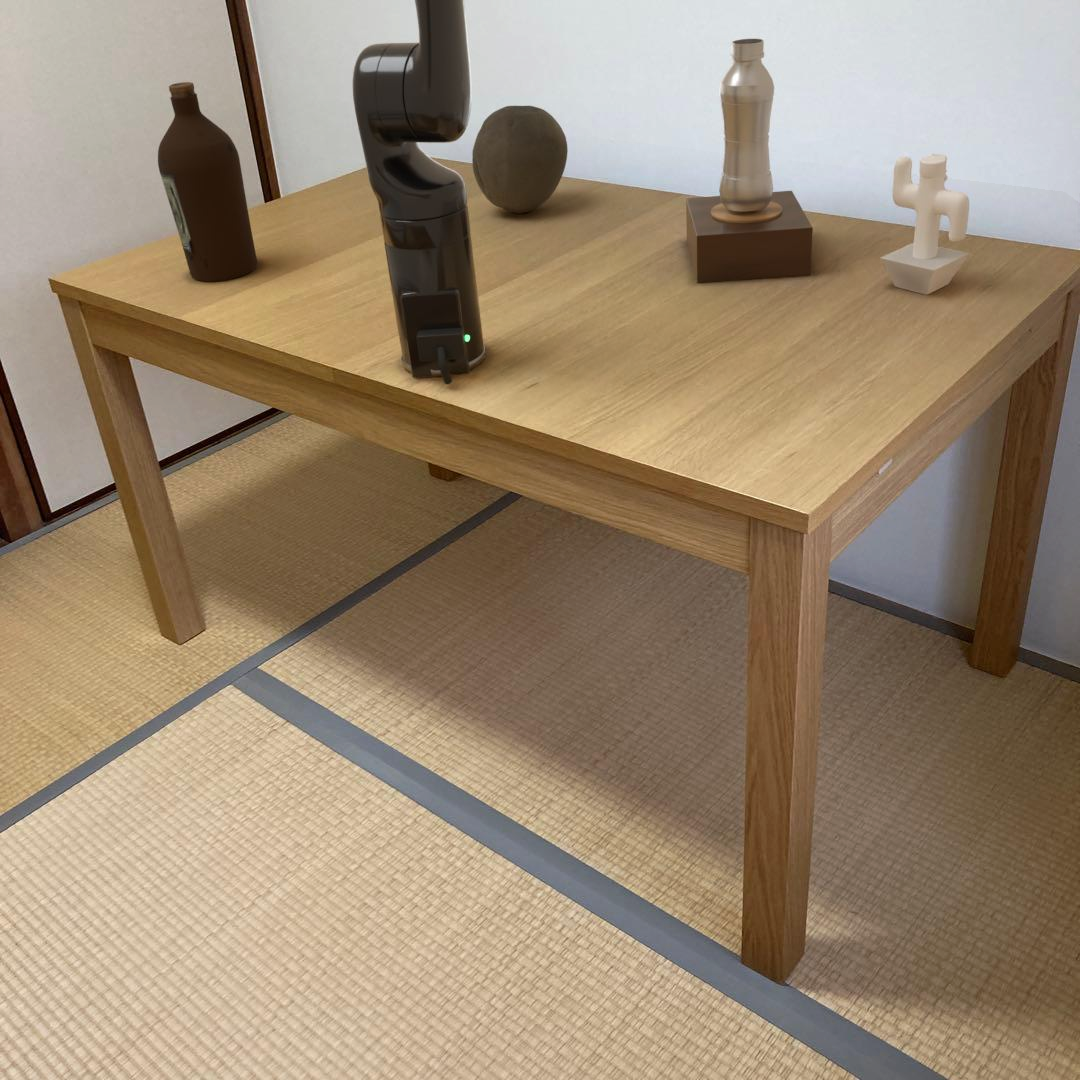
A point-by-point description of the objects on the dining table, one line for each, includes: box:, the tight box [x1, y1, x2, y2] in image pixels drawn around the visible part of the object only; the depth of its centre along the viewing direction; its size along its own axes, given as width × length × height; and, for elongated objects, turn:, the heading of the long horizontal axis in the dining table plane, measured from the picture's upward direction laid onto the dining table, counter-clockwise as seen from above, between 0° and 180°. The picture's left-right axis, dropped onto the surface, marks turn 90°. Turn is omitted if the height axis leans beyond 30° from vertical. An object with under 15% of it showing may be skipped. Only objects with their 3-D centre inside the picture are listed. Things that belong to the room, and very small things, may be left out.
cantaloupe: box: [471, 105, 569, 214], centre depth 173 cm, size 14×14×15 cm
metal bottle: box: [718, 38, 775, 212], centre depth 142 cm, size 6×7×20 cm
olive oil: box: [157, 81, 258, 282], centre depth 157 cm, size 11×11×25 cm
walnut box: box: [685, 190, 814, 284], centre depth 149 cm, size 16×14×6 cm
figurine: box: [879, 153, 970, 296], centre depth 133 cm, size 7×9×15 cm
